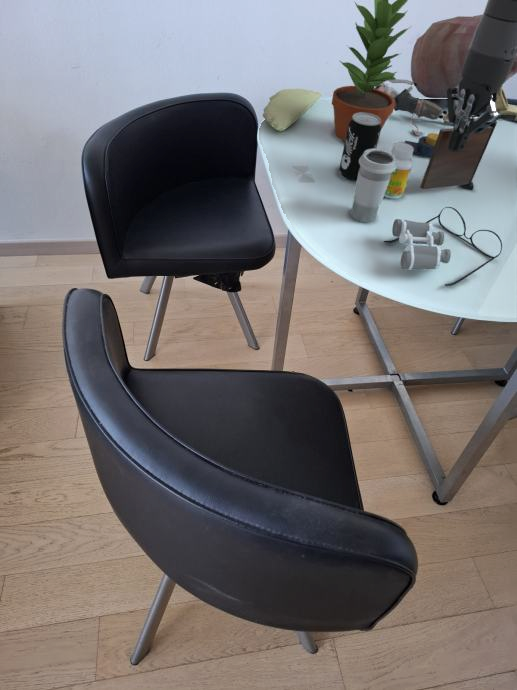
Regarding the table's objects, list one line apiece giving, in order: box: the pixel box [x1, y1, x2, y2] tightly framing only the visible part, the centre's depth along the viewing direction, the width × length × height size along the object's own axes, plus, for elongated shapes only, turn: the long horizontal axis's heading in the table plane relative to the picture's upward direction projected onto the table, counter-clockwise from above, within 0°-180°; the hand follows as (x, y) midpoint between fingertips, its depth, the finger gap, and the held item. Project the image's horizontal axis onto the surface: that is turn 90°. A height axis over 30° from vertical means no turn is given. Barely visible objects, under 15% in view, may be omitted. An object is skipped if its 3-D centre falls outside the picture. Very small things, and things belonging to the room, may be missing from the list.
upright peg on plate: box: [460, 120, 498, 191], centre depth 101 cm, size 2×2×14 cm
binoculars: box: [391, 218, 452, 271], centre depth 83 cm, size 12×8×4 cm, turn 179°
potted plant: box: [331, 0, 413, 142], centre depth 108 cm, size 15×15×30 cm
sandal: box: [455, 84, 517, 123], centre depth 134 cm, size 13×23×8 cm, turn 52°
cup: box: [350, 148, 396, 223], centre depth 90 cm, size 7×7×12 cm
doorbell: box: [404, 135, 434, 159], centre depth 116 cm, size 12×6×2 cm, turn 78°
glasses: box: [383, 206, 503, 287], centre depth 87 cm, size 14×15×5 cm
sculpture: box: [410, 14, 517, 99], centre depth 132 cm, size 19×28×30 cm
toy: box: [374, 78, 470, 136], centre depth 126 cm, size 9×16×30 cm
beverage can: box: [339, 112, 382, 182], centre depth 101 cm, size 7×7×12 cm
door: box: [420, 126, 492, 190], centre depth 98 cm, size 1×12×12 cm, turn 109°
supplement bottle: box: [383, 142, 414, 200], centre depth 98 cm, size 5×5×10 cm
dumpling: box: [262, 88, 322, 132], centre depth 123 cm, size 26×4×10 cm
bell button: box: [425, 132, 439, 146], centre depth 114 cm, size 4×4×2 cm
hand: (454, 150), depth 93 cm, fingers closed
